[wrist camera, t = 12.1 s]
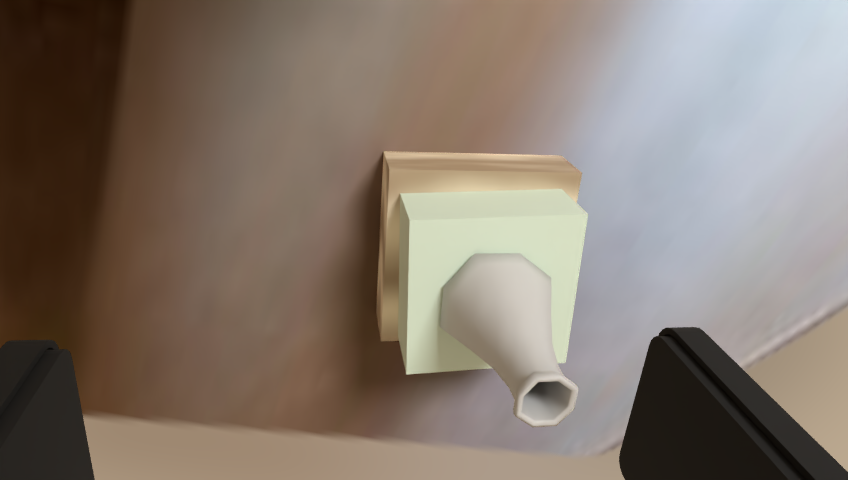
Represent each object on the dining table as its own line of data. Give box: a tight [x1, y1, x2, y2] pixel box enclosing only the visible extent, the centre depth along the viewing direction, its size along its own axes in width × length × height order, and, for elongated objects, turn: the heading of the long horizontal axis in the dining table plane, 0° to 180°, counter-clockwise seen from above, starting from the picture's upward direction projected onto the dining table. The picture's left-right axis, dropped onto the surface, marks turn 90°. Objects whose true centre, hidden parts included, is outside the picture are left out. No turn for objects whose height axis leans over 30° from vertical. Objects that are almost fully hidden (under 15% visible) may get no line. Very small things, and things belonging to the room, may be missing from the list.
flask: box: [440, 253, 578, 427], centre depth 35 cm, size 7×7×10 cm
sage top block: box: [398, 189, 588, 374], centre depth 41 cm, size 11×11×4 cm
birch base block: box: [376, 151, 582, 341], centre depth 45 cm, size 13×13×4 cm
